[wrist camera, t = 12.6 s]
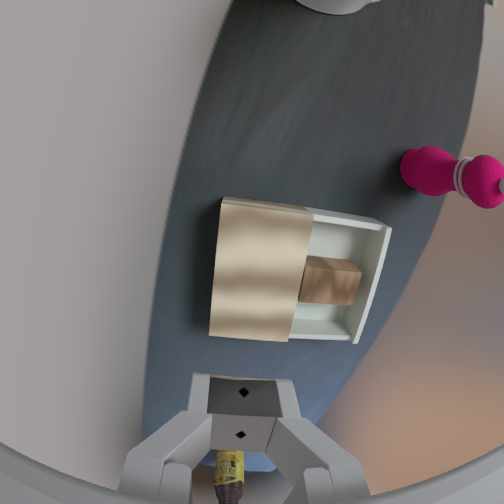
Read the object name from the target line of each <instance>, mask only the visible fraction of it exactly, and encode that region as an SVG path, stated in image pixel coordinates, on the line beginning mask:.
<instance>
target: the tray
mask: <svg viewBox="0 0 504 504" xmlns="http://www.w3.org/2000/svg"><path fill="white" fill-rule="evenodd" d="M305 208H306V209H307V210H308V211H309V212H311V213H312V214H313V215H314V220H313V226H312V231H311V236H310V241H309V247H308V252H307V255H310V256H319V257H328V258H337V259H347V260H350V261H351V262H352V263H353V264H354V265H355V266H356V267H357V268H358V269H359V270H360V271H361V272H362V274H361V278H360V282H359V286H358V289H357V293H356V296H355V300H354V303H353V305H335V304H319V303H304V302H298V299H297V304H296V308H295V313H294V317H293V321H292V326H291V330H290V334H289V338H299V339H324V340H351V341H352V343H353V344H358V341H359V338H360V335H361V333H362V330H363V327H364V324H365V321H366V318H367V315H368V312H369V309H370V306H371V303H372V300H373V297H374V294H375V290H376V287H377V284H378V280H379V277H380V273H381V270H382V266H383V262H384V259H385V255H386V251H387V247H388V243H389V239H390V235H391V231H392V228H391V227H389V226H387V225H385V224H383V223H382V222H380V221H378V220H376V219H374V218H370V217H364V216H358V215H353V214H347V213H341V212H335V211H328V210H322V209H316V208H309V207H305Z"/></svg>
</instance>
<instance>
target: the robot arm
mask: <svg viewBox="0 0 504 504" xmlns="http://www.w3.org/2000/svg"><path fill="white" fill-rule="evenodd" d="M296 1H298V2H299V3H301V4H302V5H304V6H306V7H308V8H311V9H313V10H316V11H319V12H323V13H328V14H336V15H343V14H350V13H353V12H356V11H358V10H360V9H361V8H362V7H364V6H365V5H366V4H370V3H377V2H380V1H381V0H296ZM210 449H217V450H238V451H254V452H265V453H266V455H267V456H268V457H269V459H270V460H271V461H272V462H273V464H274V465H275V466H276V467H277V468H278V470H279V471H280V472H281V473H282V474H283V475H284V477H285V478H286V479H287V480H288V482H289V483H290V484H291V485H292V486H293V487H294V488H293V490H292V491H291V493H290V494H289V496H288V498H287V499H286V500H285V502H284V503H283V504H504V444H503V445H501V446H499V447H497V448H495V449H494V450H492V451H490V452H488V453H486V454H484V455H482V456H480V457H478V458H476V459H474V460H472V461H470V462H468V463H466V464H464V465H461V466H459V467H457V468H455V469H452V470H450V471H448V472H445V473H442V474H440V475H437V476H435V477H432V478H429V479H427V480H424V481H421V482H418V483H415V484H412V485H409V486H406V487H402V488H399V489H396V490H392V491H388V492H385V493H381V494H376V495H372V496H371V495H370V492H369V489H368V486H367V483H366V480H365V477H364V474H363V471H362V468H361V465H360V463H359V461H358V460H356V459H355V458H354V457H353V456H351V455H350V454H349V453H347V452H346V451H345V450H344V449H343V448H341V447H340V446H339V445H338V444H336V443H335V442H334V441H333V440H331V439H330V438H329V437H328V436H327V435H325V434H324V433H323V432H322V431H321V430H320V429H318V428H317V427H316V426H315V425H314V424H312V423H311V422H310V421H309V420H308V419H307V418H301V416H300V411H299V407H298V403H297V398H296V394H295V390H294V386H293V382H292V381H291V380H285V379H275V380H274V379H253V378H238V377H229V376H220V375H212V374H211V377H210V375H209V374H202V373H195V372H194V373H193V376H192V382H191V388H190V394H189V400H188V406H187V411H180V412H179V413H178V414H177V415H176V416H174V417H173V418H172V419H171V420H169V421H168V422H167V423H166V424H164V425H163V426H162V427H161V428H159V429H158V430H157V431H156V432H154V433H153V434H152V435H151V436H149V437H148V438H147V439H145V440H144V441H143V442H141V443H140V444H139V445H137V446H136V447H135V448H134V449H132V450H131V451H130V452H128V455H127V458H126V461H125V465H124V469H123V472H122V476H121V480H120V483H119V487H118V491H116V490H112V489H109V488H105V487H102V486H99V485H96V484H92V483H90V482H87V481H84V480H81V479H78V478H75V477H73V476H70V475H67V474H65V473H62V472H60V471H58V470H55V469H53V468H50V467H48V466H46V465H44V464H42V463H39V462H37V461H35V460H33V459H31V458H29V457H27V456H25V455H23V454H21V453H19V452H17V451H15V450H14V449H12V448H10V447H8V446H6V445H5V444H3V443H1V442H0V504H193V499H192V475H191V471H192V470H193V469H194V468H195V467H196V466H197V465H198V463H199V462H200V461H201V460H202V459H203V458H204V457H205V455H206V454H207V453H208V452H209V451H210Z"/></svg>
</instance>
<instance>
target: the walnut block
mask: <svg viewBox="0 0 504 504" xmlns="http://www.w3.org/2000/svg"><path fill="white" fill-rule="evenodd" d="M361 274H362V272H361V271H360V270H359V269H358V268H357V267H356V266H355V265H354V264H353V263H352V262H351V261H350V260H347V259H337V258H328V257H319V256H310V255H307V257H306V262H305V267H304V271H303V276H302V281H301V286H300V290H299V295H298V302H304V303H319V304H335V305H353V303H354V300H355V296H356V293H357V289H358V286H359V282H360V278H361Z"/></svg>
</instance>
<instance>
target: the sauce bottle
mask: <svg viewBox="0 0 504 504" xmlns="http://www.w3.org/2000/svg"><path fill="white" fill-rule="evenodd" d="M243 485H244V452H243V451H238V450H217V454H216V469H215V482H214V487H215V491H216V496H217V498H218V500H219V504H238V501H239V499H240V498H241V497H242V495H243Z"/></svg>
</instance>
